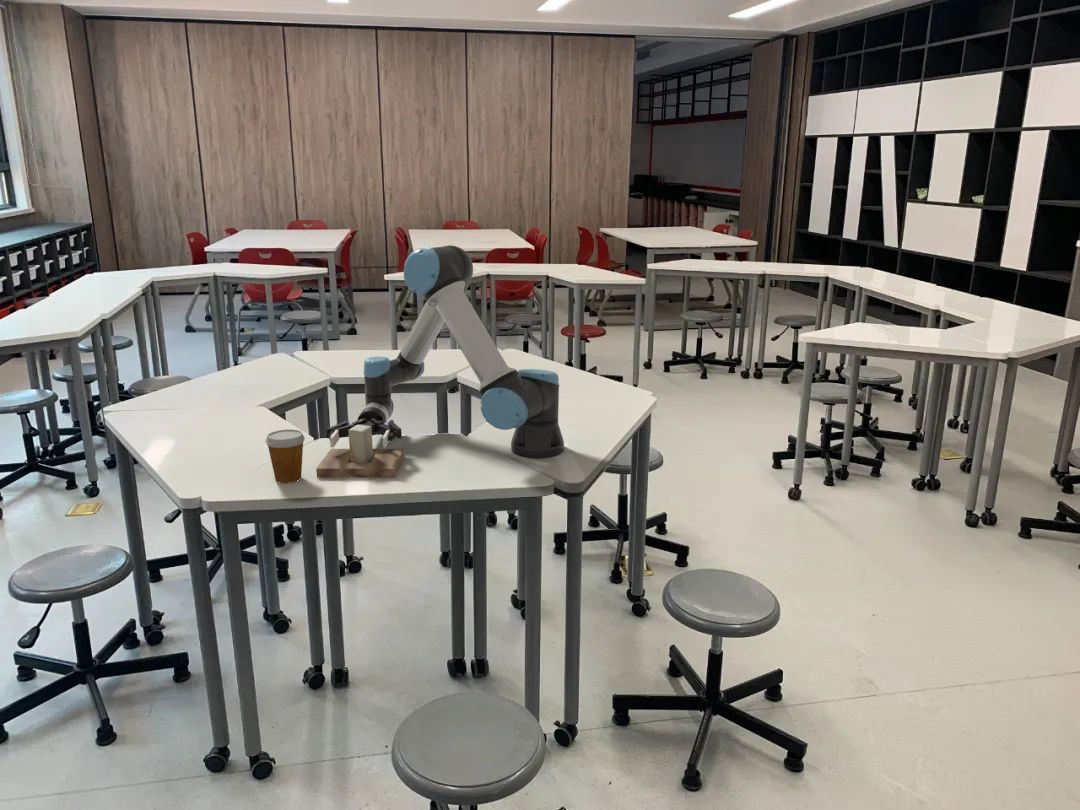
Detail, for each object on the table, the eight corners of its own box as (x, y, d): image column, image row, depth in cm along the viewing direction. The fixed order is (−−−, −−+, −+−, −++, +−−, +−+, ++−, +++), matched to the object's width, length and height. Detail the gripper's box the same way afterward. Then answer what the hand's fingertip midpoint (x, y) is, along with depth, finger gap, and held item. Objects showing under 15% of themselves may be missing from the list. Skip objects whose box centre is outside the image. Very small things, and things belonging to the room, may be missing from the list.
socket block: (404, 457, 224) (403, 448, 224) (394, 477, 209) (394, 468, 208) (331, 457, 224) (330, 448, 224) (316, 477, 209) (316, 468, 208)
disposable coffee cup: (268, 474, 211) (265, 430, 207) (307, 471, 213) (303, 427, 210) (268, 487, 202) (264, 441, 199) (308, 483, 205) (305, 438, 202)
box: (360, 463, 220) (358, 423, 217) (374, 464, 219) (372, 425, 216) (350, 469, 215) (347, 429, 212) (364, 471, 214) (362, 430, 211)
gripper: (417, 431, 233) (406, 456, 213) (329, 431, 233) (310, 456, 212) (416, 406, 231) (405, 428, 211) (328, 406, 231) (308, 428, 210)
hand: (358, 442), depth 211 cm, fingers open, 13 cm apart
